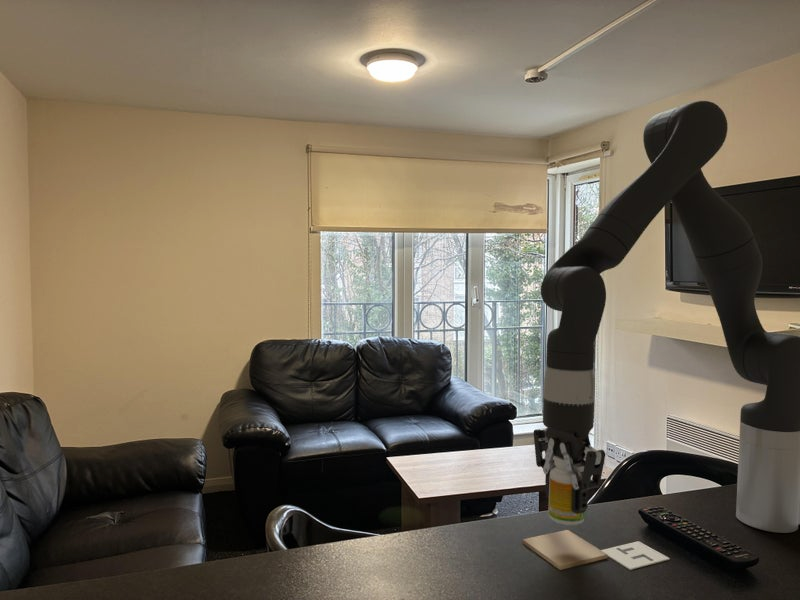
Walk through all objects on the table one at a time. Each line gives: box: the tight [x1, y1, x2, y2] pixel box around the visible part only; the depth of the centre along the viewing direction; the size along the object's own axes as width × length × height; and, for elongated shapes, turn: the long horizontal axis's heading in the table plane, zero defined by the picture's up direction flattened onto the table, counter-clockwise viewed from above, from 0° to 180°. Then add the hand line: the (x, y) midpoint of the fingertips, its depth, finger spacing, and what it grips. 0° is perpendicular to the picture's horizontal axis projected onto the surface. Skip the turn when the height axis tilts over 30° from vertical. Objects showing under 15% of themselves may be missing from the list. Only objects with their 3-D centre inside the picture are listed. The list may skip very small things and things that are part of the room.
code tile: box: [600, 541, 670, 571], centre depth 89 cm, size 8×6×1 cm
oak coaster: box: [522, 529, 608, 571], centre depth 90 cm, size 9×9×1 cm
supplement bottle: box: [547, 455, 586, 526], centre depth 90 cm, size 5×5×10 cm
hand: (565, 504), depth 90 cm, fingers closed on supplement bottle, 5 cm apart
